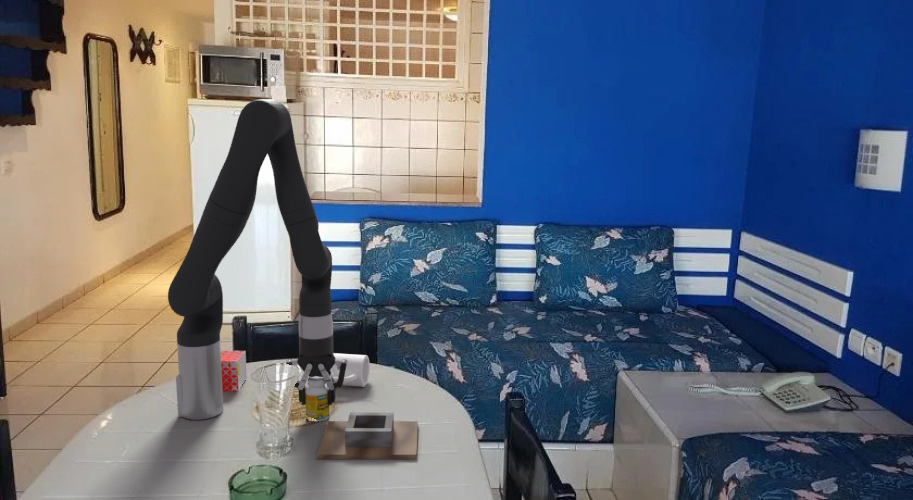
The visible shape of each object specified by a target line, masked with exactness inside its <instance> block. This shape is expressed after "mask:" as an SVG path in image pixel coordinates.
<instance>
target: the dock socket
mask: <svg viewBox="0 0 913 500" xmlns="http://www.w3.org/2000/svg"><path fill="white" fill-rule="evenodd" d="M394 415H395V413H394V412H355V411H354V412H353V411H352V412H349V415H348V419H347V420H335V421H334V420H328V421H327V424H326V427H325V430H324V432H323V437H322V439H321V441H320V445H319V448H318V451H317V454H316V460H417V455H418V454H417V451H418V429H419V428H418V426H419V422H418V421H416V420H415V421H411V420H410V421H409V420H406V421H405V420H404V421H403V420H401V421H400V420H399V421H398V420H394V419H395V418H394Z"/></svg>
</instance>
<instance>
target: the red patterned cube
mask: <svg viewBox="0 0 913 500" xmlns="http://www.w3.org/2000/svg"><path fill="white" fill-rule="evenodd" d="M246 355H247V354H246V350H221V369H222V391H223V392H240V390H241V389H240V387H241V385H242V384H243V382H244V380H245V379H247V378H248V377H247V375H248V374H247V356H246ZM243 385H244V384H243ZM241 388H242V387H241ZM239 389H240V390H239Z"/></svg>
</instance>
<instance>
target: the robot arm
mask: <svg viewBox="0 0 913 500" xmlns="http://www.w3.org/2000/svg"><path fill="white" fill-rule="evenodd" d="M294 133H295V132H294V128H293V122H292V117H291V114H290V111H289V110H288V108H287V107H286V106H285V104H284V103H282V102H281V101H279V100H277V99H273V98H259V99H255V100H251V101H250V102H248V103H247V104H246V105H245V106H244V107H242V109H241V111H240V113H239V115H238V118H237V122H236V126H235V128H234V133H233V136H232V139H231V143H230V147H229V151H228V153H227V156H226V158H225V161H224V162H223V164H222V167H221V169H220V171H219V174H218V176H217V178H216V181H215V183H214V185H213V188H212V190H211V192H210V194H209V196H208V199H207V201H206V204H205V205H204V208H203V211H202V214H201V217H200V220H199V223H198V225H197V227H196V230H195V231H194V235H193V237H192V240H191V242H190V246H189V248H188V250H187V252H186V255H185V256H184V259H183V261H182V262H181V264H180V265H179V267H178V270H177V272H176V273H175V275H174V277H173V279H172V281H171V283H170V285H169V288H168V290H167V291H168V292H167V301H168V303H169V307H170V309H171V310H172V311H173V313H175V314H176V315H178V316H180V317H183V320H182V322H181V324H180V326H179V328H178V329H177V332H176V344H177V345H176V348H177V362H178V363H177V364H178V375H177V376H176V377H175V386H176V387H175V389H176V401H177V404H176V406H177V417H178V418H184V419H186V420H187V419H188V420H194V421H195V420H199V421H201V420H207V419H211V418H214V417H217V416H219V415H220V414H222V412H223V411H224V397H223V396H224V395H223V392H224V391H222V369H221V351H222V350H221V349H222V348H221V329H222V327H223V324H224V323H223V322H224V321H223V320H224V298H223V297H224V294H223V287H222V283H221V281H220V279H219V277H218V276H217V275H216V274H215V273H216V271H217V269H218V267H219V266H220V264H221V263H222V261H223V260H224V258H225V257H226V256H227V254H228V253H229V252H230V250H232V247H233V246H234V245H235V244H236V243H237V240H238V239H239V238H240V236H241V235H242V233H243V232H244V230H245V228H246V225H247V223H248V221H249V218H250V217H251V213H252V211H253V208H254V204H255V202H256V196H257V190H258V179H259V174H260V170H261V168H262V166H263V164H264V162H265V159H266V157H267V156H268V158H269V162H270V166H271V170H272V173H273V174H272V175H273V179H274V181H273V182H274V189H275V196H276V197H275V198H276V201H277V205H278V209H279V213H280V216H281V218H282V221H283V224H284V226H285V229H286V231H287V234H288V237H289V243H290V248H291V252H292V257H293V261H294V264H295V267H296V268H297V271H298V273H300V275H301V287H300V291H299V297H298V298H299V299H298V301H299V302H298V305H299V306H298V307H299V317H298V347H299V348H298V350H299V351H298V352H299V355H298V358H296V359H295V358H294V359H292V358H288V359H287V360H286V362H285V364H289V365H296V366H299V368H300V369H301V370H302V371H303V374H302V377H301V379H300V380H298V379H297V380H298V381H297V383H296V384H295V386H294V387H293V388H297V390H298V402H299V403H301V405H302V406H306V403H305V389H306V388H307V386H306V384H307V382H308V378H309V377H315V376H318V377H323V378H324V380H325V382H326V383H327V384H326V386H328V388H329V389H328V405H329V406H332V405H333V403H335V400H336V389H337V388H340V389H341V388H342V387H343V385H342V384H343V381H344V376H345V371H346V366H347V360H346V359H343V360H338V359H336V358H335V357H334V354H333V353H334V321H333V314H332V295H331V293H332V292H331V288H332V287H331V284H332V273H333V257H332V256H333V255H332V252H331V250H330V249H329V247H328V246H326V245H325V244H324V243H323V242H322V239H321V235H320V231H319V229H320V228H319V219H318V217H317V214H316V212H315V208H314V206H313V205H314V204H313V202H312V200H311V197H310V193H309V191H308V188H307V184H306V180H305V178H304V174H303V172H302V167H301V164H300V160H299V156H298V150H297V146H296V140H295V134H294ZM334 364H335V365H337V369H338V370H340V371H339V376H338V380H337V381H335V380H334V378H333V375H332V372H331V370H330V369H331V368H332V367H333V365H334Z"/></svg>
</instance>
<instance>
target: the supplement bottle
mask: <svg viewBox="0 0 913 500" xmlns="http://www.w3.org/2000/svg"><path fill="white" fill-rule="evenodd" d="M307 385H308V386H306V389H305V403H306V404H305V416H306V415H307V416H308V417H311V418H314V419H316V420H317V421H319V422H318V423H322V422H325V421H327V420H328V419H329V417H330V405H328V389H329V387H328V385H327V384H326V382H325V380H324V378H323V377H318V376H315V377H308V379H307ZM321 421H322V422H321Z"/></svg>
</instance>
